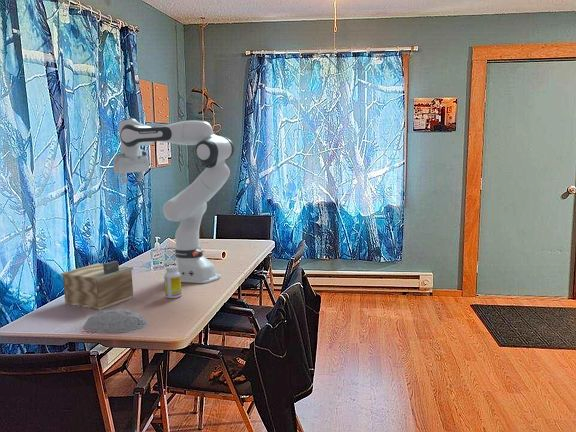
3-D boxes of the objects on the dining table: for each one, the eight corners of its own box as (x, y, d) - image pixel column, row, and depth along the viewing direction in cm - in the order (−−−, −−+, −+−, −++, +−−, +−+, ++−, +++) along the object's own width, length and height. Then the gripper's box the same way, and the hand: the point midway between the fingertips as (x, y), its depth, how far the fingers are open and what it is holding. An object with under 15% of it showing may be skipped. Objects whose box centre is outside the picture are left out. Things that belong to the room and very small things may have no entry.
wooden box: (133, 297, 225) (131, 269, 224) (100, 310, 210) (97, 280, 208) (99, 292, 235) (97, 265, 233) (65, 303, 219) (62, 275, 217)
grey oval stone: (138, 333, 182) (136, 313, 182) (72, 334, 187) (70, 315, 187) (158, 322, 197) (156, 304, 197) (96, 323, 202) (95, 306, 202)
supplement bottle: (184, 294, 227) (182, 265, 225) (176, 299, 221) (174, 269, 219) (170, 293, 229) (169, 264, 228) (162, 298, 223) (160, 268, 221)
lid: (133, 269, 224) (132, 258, 223) (97, 280, 207) (96, 268, 207) (97, 265, 234) (96, 254, 233) (60, 275, 217) (59, 263, 217)
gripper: (118, 153, 247) (121, 183, 249) (150, 152, 264) (152, 180, 266) (109, 154, 250) (111, 183, 252) (140, 152, 268) (142, 180, 269)
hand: (132, 182), depth 259 cm, fingers open, 8 cm apart
